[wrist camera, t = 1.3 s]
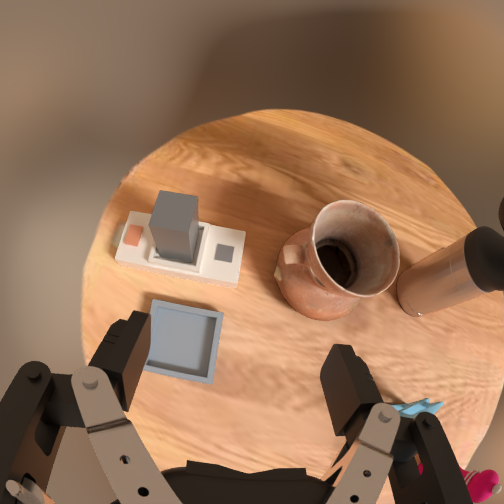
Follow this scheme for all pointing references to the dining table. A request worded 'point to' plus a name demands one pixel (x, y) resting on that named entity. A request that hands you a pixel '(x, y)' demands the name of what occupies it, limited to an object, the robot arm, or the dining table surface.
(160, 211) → the block
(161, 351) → the tray
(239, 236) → the white rectangular base
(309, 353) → the dining table surface
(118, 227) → the dining table surface
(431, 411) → the chair
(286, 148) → the dining table surface
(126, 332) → the robot arm
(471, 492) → the pepper mill
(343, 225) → the ceramic jug
